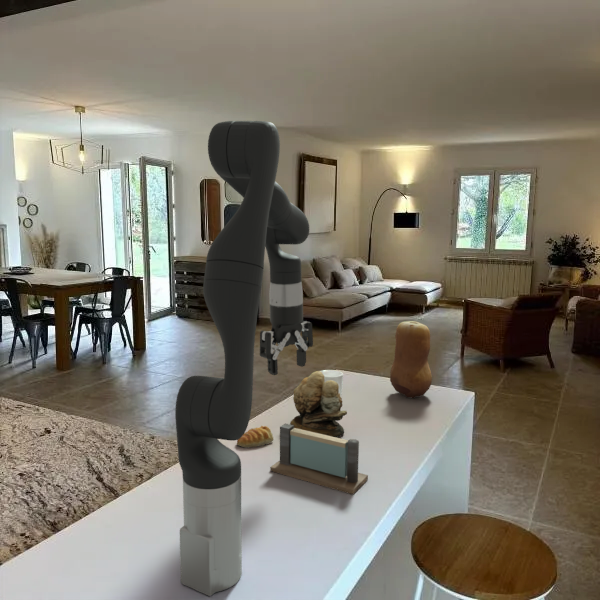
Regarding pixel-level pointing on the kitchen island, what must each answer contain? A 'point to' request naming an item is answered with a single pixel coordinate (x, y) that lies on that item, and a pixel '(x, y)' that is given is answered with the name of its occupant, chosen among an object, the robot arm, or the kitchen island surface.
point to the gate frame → (314, 476)
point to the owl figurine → (318, 406)
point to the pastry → (256, 437)
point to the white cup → (334, 378)
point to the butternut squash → (411, 360)
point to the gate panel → (319, 452)
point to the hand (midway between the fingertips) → (287, 369)
